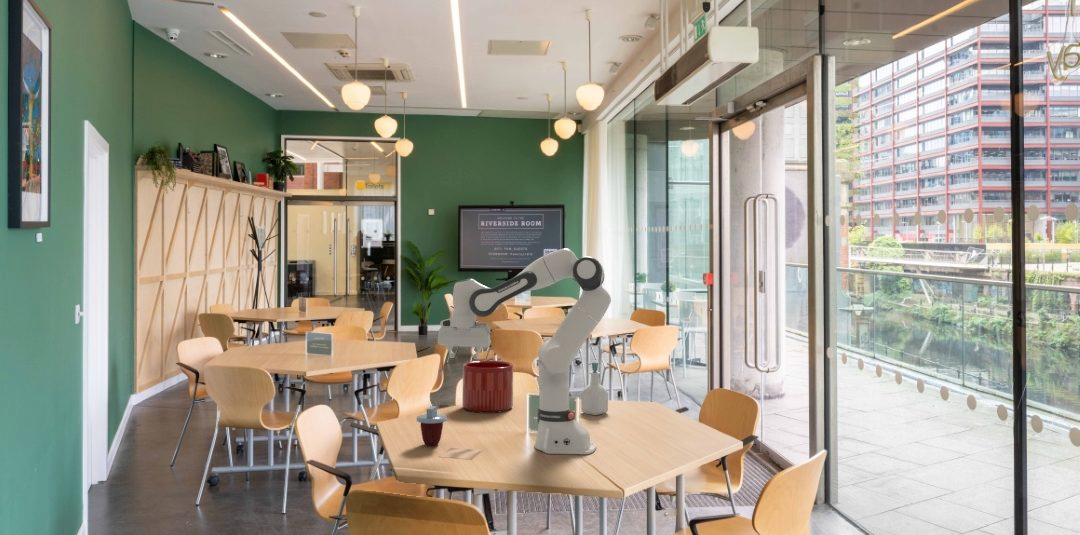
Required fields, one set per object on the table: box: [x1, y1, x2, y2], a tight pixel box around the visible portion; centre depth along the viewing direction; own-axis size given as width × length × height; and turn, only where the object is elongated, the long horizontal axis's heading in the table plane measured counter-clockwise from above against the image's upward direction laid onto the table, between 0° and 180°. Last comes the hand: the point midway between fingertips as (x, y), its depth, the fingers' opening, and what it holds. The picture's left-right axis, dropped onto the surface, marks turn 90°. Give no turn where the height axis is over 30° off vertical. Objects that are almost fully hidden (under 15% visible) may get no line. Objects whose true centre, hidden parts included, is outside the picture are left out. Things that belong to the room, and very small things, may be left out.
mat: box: [438, 447, 484, 461], centre depth 252 cm, size 12×12×1 cm
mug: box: [420, 422, 444, 447], centre depth 262 cm, size 11×8×10 cm
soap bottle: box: [580, 361, 609, 416], centre depth 321 cm, size 10×10×23 cm
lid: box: [416, 405, 448, 424], centre depth 262 cm, size 11×11×4 cm
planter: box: [462, 360, 514, 413], centre depth 329 cm, size 23×23×20 cm
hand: (464, 358), depth 271 cm, fingers open, 8 cm apart
